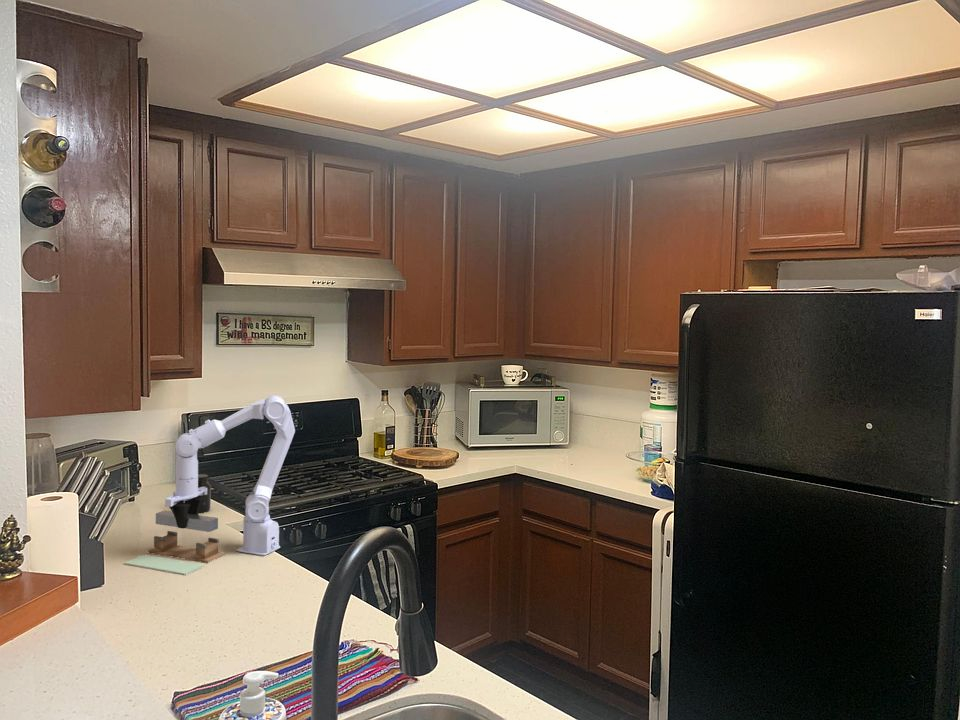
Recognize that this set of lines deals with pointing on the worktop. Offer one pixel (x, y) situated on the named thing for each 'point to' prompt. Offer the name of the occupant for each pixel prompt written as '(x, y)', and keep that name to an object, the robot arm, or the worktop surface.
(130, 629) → the worktop surface
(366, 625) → the worktop surface
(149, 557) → the rubber mat
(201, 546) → the wooden stand
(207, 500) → the supplement bottle
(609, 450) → the worktop surface
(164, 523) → the steel rail
